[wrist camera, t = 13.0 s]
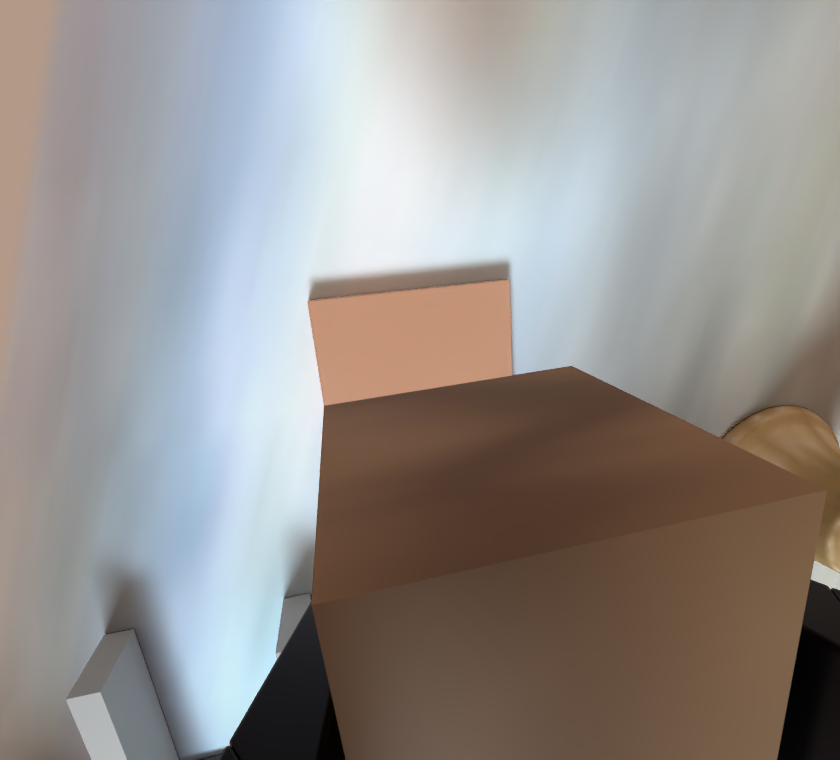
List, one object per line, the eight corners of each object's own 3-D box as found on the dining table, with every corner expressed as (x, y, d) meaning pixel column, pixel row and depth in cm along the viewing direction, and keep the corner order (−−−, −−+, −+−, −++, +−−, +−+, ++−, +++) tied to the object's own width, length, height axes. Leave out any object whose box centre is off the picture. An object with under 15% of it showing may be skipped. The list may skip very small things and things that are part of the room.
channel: (309, 593, 21) (306, 646, 18) (341, 758, 24) (343, 825, 21) (104, 634, 20) (65, 699, 17) (167, 803, 23) (143, 881, 20)
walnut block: (571, 365, 9) (827, 490, 4) (573, 568, 11) (765, 823, 6) (324, 405, 8) (311, 605, 4) (362, 616, 10) (388, 953, 5)
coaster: (504, 279, 19) (509, 280, 18) (509, 453, 21) (514, 459, 20) (308, 300, 17) (307, 301, 17) (337, 482, 20) (337, 489, 19)
